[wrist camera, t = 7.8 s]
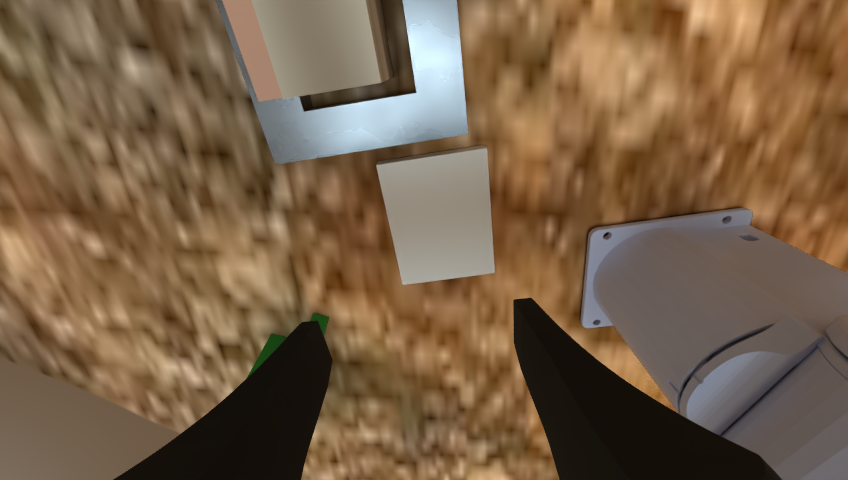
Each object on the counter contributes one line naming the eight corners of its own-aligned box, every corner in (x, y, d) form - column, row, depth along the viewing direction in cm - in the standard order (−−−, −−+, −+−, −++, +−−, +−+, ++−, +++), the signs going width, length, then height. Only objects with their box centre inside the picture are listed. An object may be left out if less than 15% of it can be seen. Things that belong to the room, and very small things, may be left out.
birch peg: (379, -8, 15) (356, -48, 10) (394, 77, 17) (381, 82, 11) (305, 5, 15) (243, -26, 10) (326, 88, 17) (283, 99, 12)
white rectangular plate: (484, 144, 18) (487, 148, 18) (492, 266, 22) (494, 272, 21) (377, 161, 19) (376, 165, 18) (403, 277, 22) (402, 285, 22)
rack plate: (441, -130, 13) (443, -153, 12) (464, 129, 18) (468, 134, 16) (203, -80, 14) (178, -97, 12) (286, 157, 18) (274, 165, 17)
